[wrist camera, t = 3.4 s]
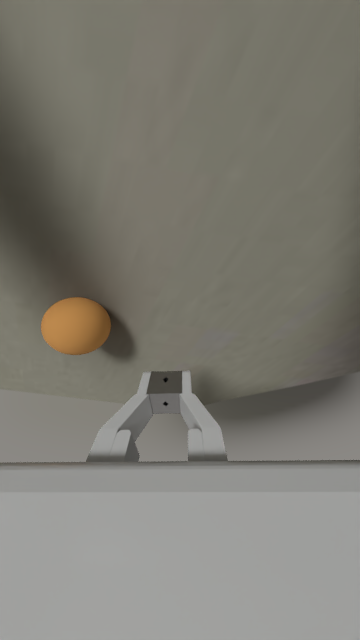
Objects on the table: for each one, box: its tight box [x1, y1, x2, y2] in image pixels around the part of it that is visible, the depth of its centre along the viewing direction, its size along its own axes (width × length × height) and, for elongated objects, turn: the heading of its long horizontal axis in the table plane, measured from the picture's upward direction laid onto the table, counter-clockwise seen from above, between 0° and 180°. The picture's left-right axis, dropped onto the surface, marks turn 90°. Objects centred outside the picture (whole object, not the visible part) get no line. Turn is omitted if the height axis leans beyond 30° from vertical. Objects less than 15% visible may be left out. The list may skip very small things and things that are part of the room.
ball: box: [41, 297, 111, 355], centre depth 15 cm, size 6×6×6 cm
